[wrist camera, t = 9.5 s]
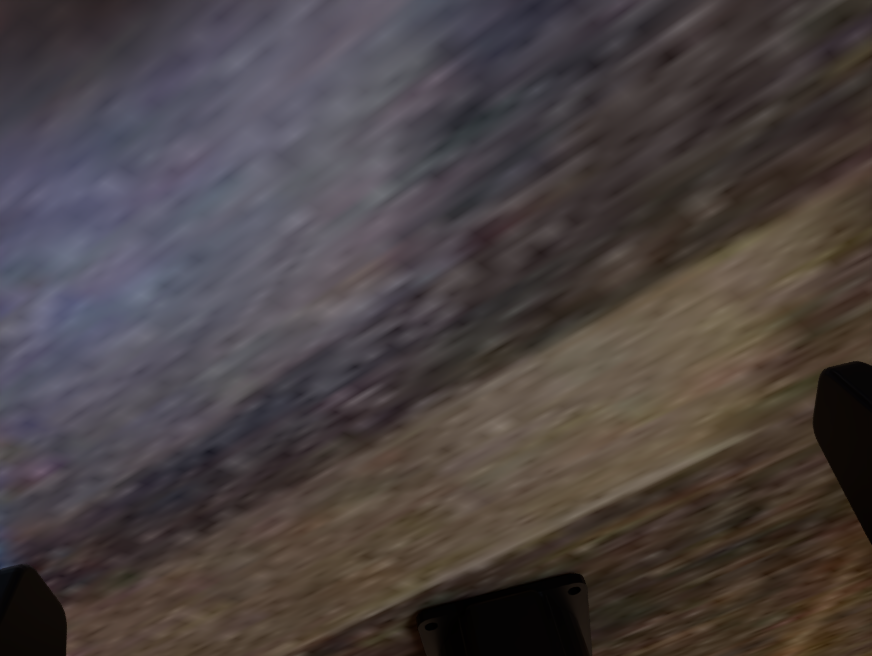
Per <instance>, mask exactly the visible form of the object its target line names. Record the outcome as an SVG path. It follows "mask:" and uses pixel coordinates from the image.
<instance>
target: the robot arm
mask: <svg viewBox="0 0 872 656" xmlns="http://www.w3.org/2000/svg"><path fill="white" fill-rule="evenodd" d="M813 429H814V434H815V437H816V439H817V441H818V443H819V445H820V447H821V449H822V451H823V453H824V455H825V457H826V459H827V461H828V463H829V465H830V466H831V468H832V470H833V472H834V474H835V476H836V478H837V480H838V482H839V484H840V486H841V488H842V489H843V491H844V493H845V495H846V497H847V499H848V501H849V503H850V505H851V507H852V509H853V511H854V512H855V514H856V516H857V518H858V520H859V522H860V524H861V526H862V528H863V530H864V532H865V534H866V535H867V537H868V539H869V541H870V543H871V544H872V366H871V365H869V364H866V363H863V362H859V361H853V362H849V363H845V364H841V365H837V366H832V367H828V368H826V369H824V370H823V371H822V373H821V374H820V376H819V380H818V387H817V394H816V400H815V407H814V413H813ZM416 621H417V626H418V631H419V634H420V637H421V640H422V644H423V647H424V650H425V653H426V656H592V646H591V632H590V619H589V605H588V592H587V586H586V583H585V580H584V578H583V576H582V575H580V574H569V575H565V576H561V577H557V578H553V579H549V580H545V581H541V582H537V583H533V584H529V585H525V586H521V587H517V588H513V589H509V590H505V591H501V592H497V593H493V594H489V595H485V596H481V597H477V598H473V599H469V600H465V601H461V602H457V603H453V604H449V605H445V606H441V607H437V608H433V609H429V610H426V611H423V612H421V613H420V614H419V615H418V616H417V620H416ZM66 640H67V622H66V616H65V612H64V609H63V607H62V605H61V603H60V602H59V601H58V599H57V598H56V597H55V595H54V594H53V593H52V591H51V590H50V589H49V587H48V586H47V585H46V583H45V582H44V581H43V579H42V578H41V577H40V575H39V574H38V573H37V571H36V570H35V569H34V568H33V567H32V566H30V565H27V564H20V565H16V566H11V567H7V568H3V569H0V656H66Z"/></svg>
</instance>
